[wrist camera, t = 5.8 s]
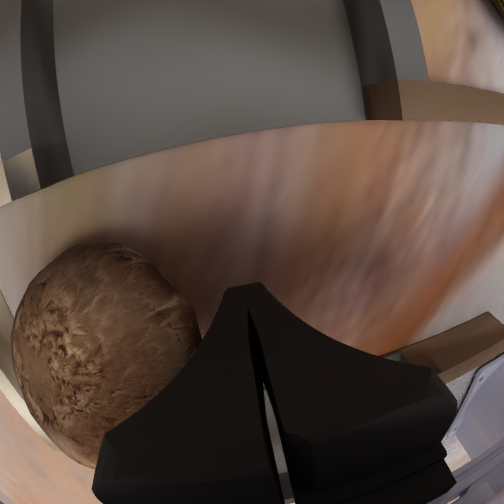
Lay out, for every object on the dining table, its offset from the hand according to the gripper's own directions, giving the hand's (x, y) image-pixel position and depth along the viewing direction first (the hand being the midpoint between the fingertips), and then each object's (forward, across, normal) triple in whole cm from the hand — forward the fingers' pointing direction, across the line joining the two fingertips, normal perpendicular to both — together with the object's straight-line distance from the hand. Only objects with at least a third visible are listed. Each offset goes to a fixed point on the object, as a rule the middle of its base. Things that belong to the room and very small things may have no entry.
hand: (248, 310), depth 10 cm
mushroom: (+2, +5, 0) cm, 5 cm away
